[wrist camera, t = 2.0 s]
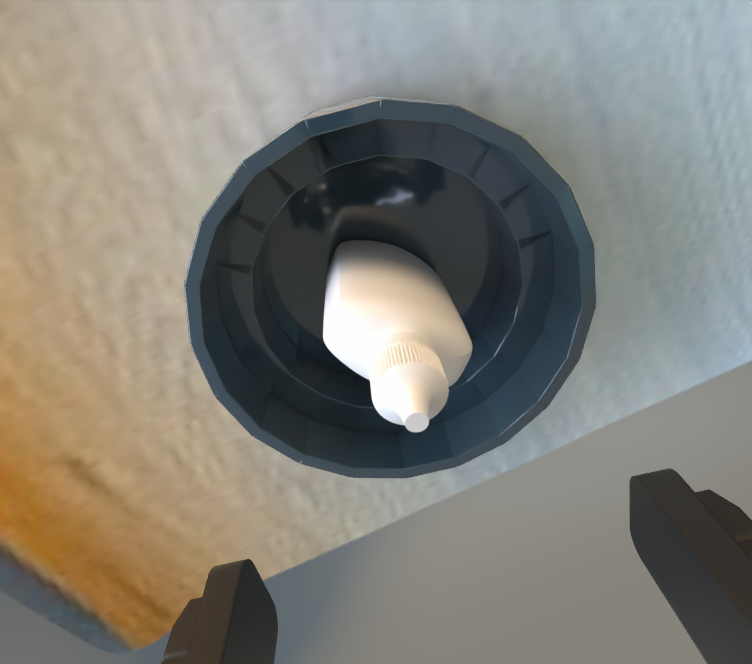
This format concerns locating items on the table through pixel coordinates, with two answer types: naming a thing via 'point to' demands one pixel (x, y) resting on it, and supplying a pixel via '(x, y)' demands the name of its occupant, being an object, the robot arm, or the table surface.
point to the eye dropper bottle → (394, 329)
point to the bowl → (412, 233)
